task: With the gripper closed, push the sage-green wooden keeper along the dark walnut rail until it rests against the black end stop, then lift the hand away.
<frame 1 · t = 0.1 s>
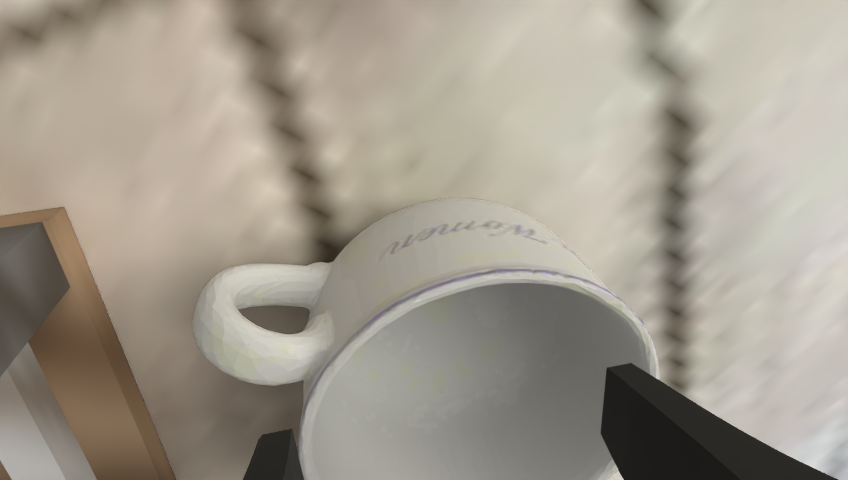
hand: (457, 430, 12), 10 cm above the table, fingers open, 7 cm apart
rail: (95, 478, 23), on the table
teacup: (401, 276, 22), on the table
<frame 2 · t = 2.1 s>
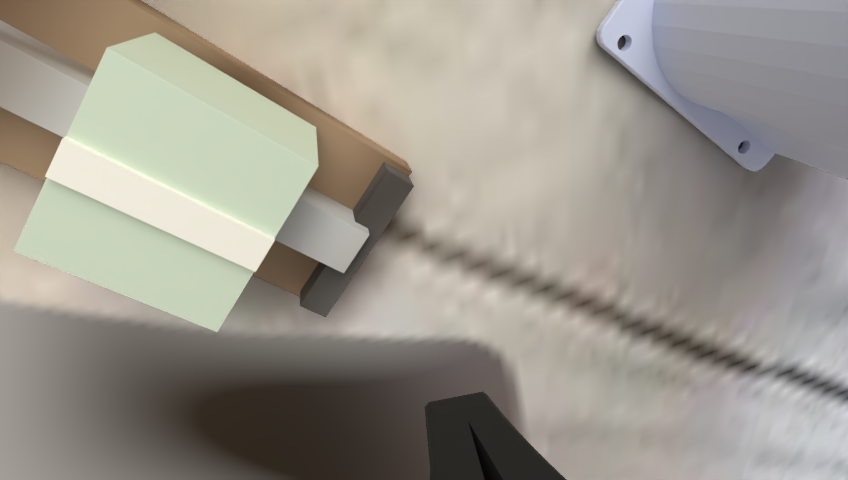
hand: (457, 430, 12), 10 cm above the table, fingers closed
rail: (6, 39, 16), on the table
keeper: (185, 181, 15), point 4 cm above the table, slide at 0.0 cm
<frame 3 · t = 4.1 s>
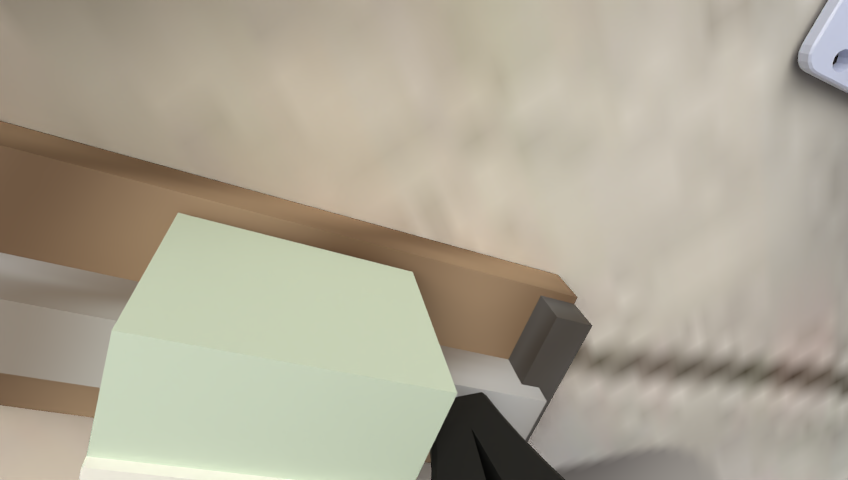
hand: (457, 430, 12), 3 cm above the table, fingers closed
rail: (48, 265, 12), on the table
keeper: (263, 413, 10), point 4 cm above the table, slide at 1.0 cm, touching gripper
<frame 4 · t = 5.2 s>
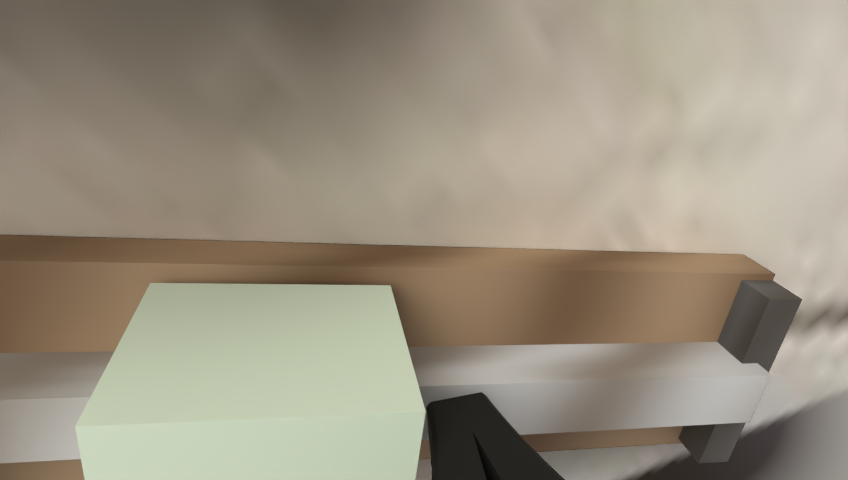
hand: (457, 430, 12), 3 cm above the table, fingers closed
rail: (322, 346, 14), on the table
keeper: (269, 454, 11), point 4 cm above the table, slide at 7.1 cm, touching gripper
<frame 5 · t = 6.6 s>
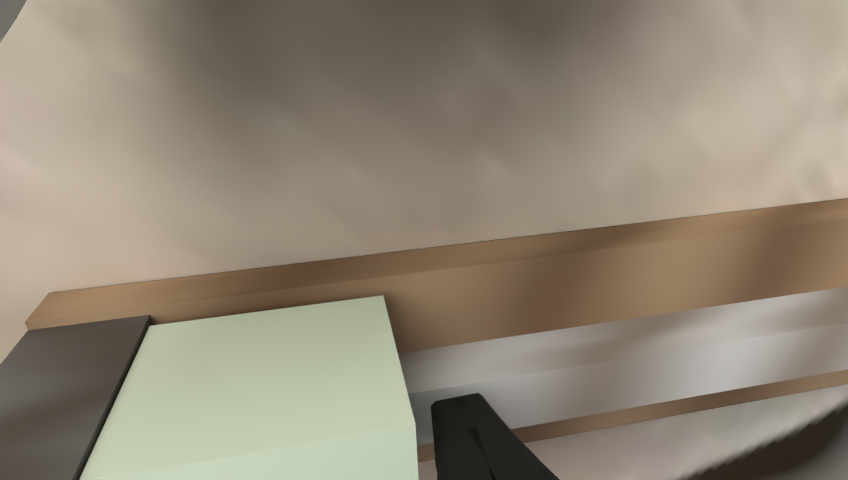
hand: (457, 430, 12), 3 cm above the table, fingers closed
rail: (540, 329, 16), on the table
keeper: (284, 476, 11), point 4 cm above the table, slide at 13.1 cm, touching gripper
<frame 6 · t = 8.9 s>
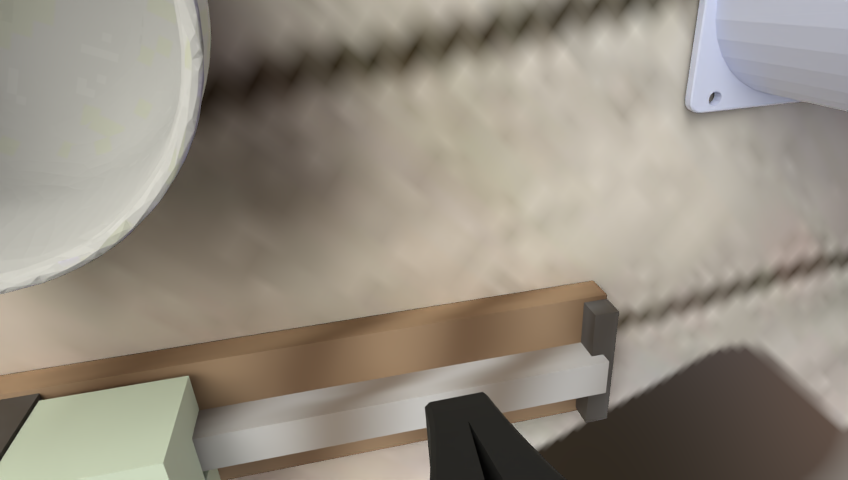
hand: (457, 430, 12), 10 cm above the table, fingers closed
rail: (323, 384, 23), on the table
teacup: (18, 48, 16), on the table
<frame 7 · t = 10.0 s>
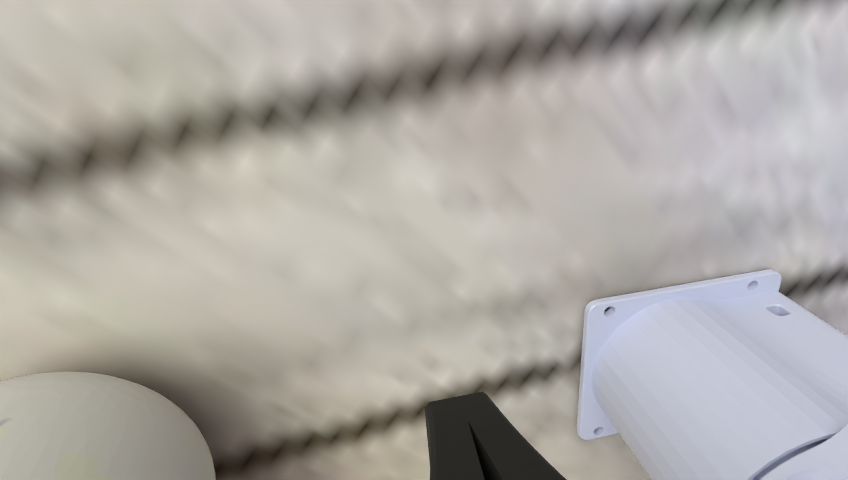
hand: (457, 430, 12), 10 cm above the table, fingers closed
teacup: (81, 462, 23), on the table
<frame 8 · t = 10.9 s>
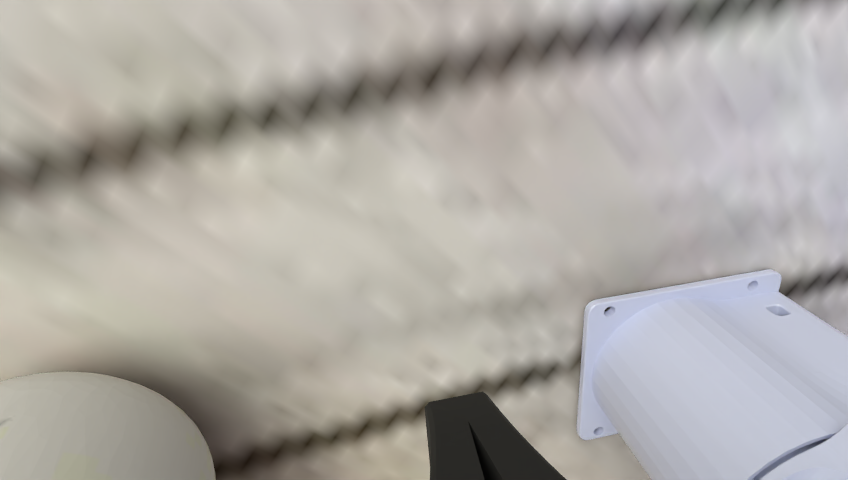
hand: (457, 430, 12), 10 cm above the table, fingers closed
teacup: (81, 462, 23), on the table
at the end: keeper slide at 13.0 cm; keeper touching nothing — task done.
